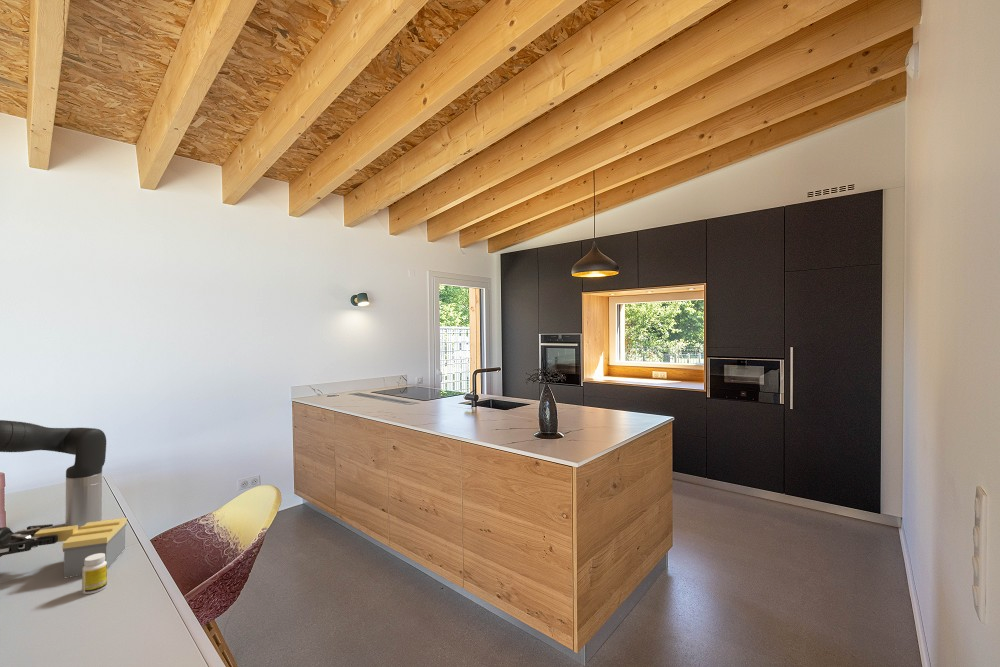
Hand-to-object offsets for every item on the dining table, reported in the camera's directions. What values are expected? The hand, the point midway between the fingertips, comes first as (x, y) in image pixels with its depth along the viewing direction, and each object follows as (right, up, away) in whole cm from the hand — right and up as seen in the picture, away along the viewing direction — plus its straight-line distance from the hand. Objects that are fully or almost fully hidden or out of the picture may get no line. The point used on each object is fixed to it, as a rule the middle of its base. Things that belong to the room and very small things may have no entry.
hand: (62, 534), depth 126 cm
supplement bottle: (+19, -10, -11) cm, 24 cm away
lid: (+3, -2, +1) cm, 4 cm away
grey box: (+7, -10, +3) cm, 12 cm away
